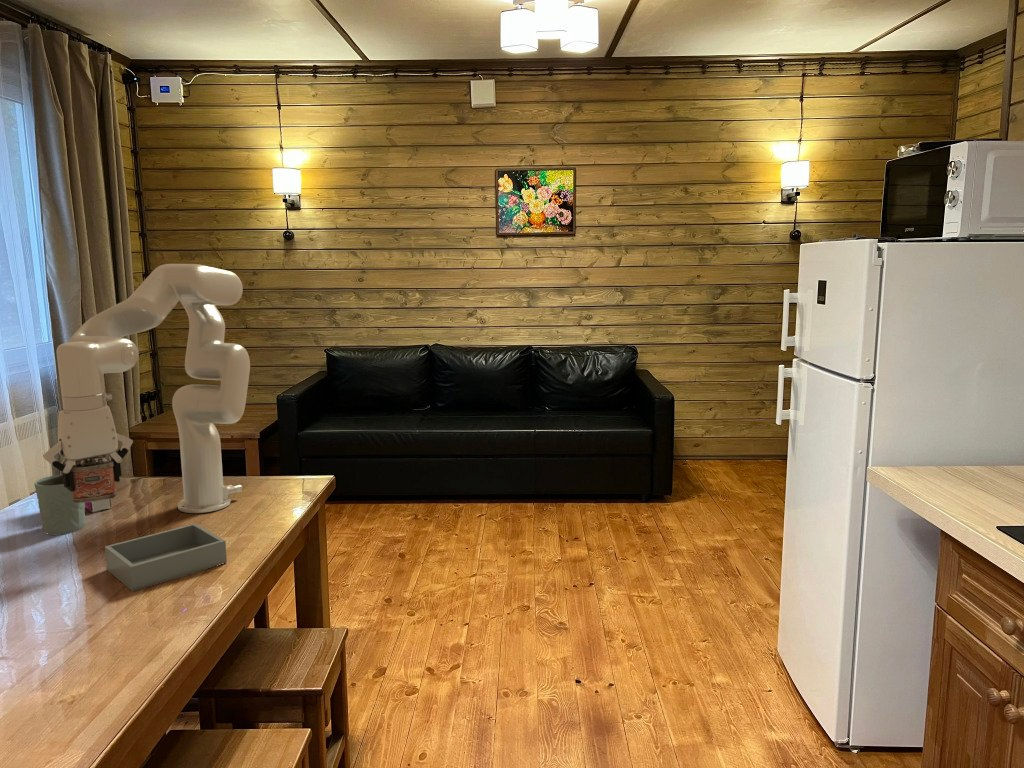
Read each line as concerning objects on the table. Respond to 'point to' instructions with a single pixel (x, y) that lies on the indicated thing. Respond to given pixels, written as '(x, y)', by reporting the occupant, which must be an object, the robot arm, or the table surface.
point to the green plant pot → (58, 506)
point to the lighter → (93, 480)
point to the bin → (164, 556)
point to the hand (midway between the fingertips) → (93, 484)
